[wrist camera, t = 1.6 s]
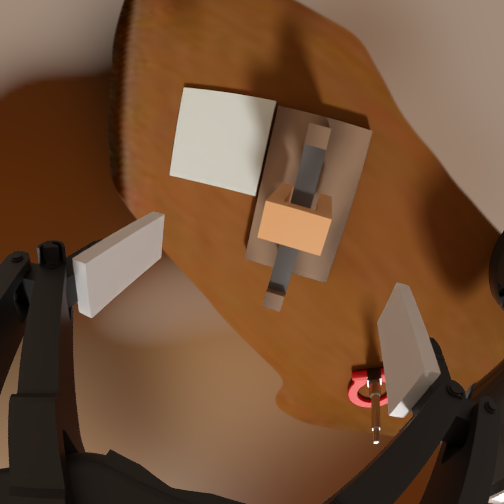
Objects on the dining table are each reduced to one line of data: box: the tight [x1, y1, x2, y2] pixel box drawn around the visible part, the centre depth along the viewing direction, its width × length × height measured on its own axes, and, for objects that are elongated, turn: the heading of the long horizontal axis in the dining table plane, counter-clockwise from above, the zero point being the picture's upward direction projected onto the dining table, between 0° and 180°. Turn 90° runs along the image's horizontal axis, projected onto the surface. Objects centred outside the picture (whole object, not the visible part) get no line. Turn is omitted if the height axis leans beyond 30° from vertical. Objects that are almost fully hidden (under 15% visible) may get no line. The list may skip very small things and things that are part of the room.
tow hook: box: [348, 368, 388, 444], centre depth 36 cm, size 8×13×9 cm
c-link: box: [257, 183, 332, 256], centre depth 26 cm, size 5×3×8 cm, turn 78°
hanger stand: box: [245, 106, 372, 312], centre depth 28 cm, size 10×18×12 cm, turn 169°
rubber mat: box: [170, 88, 277, 196], centre depth 33 cm, size 11×11×1 cm
